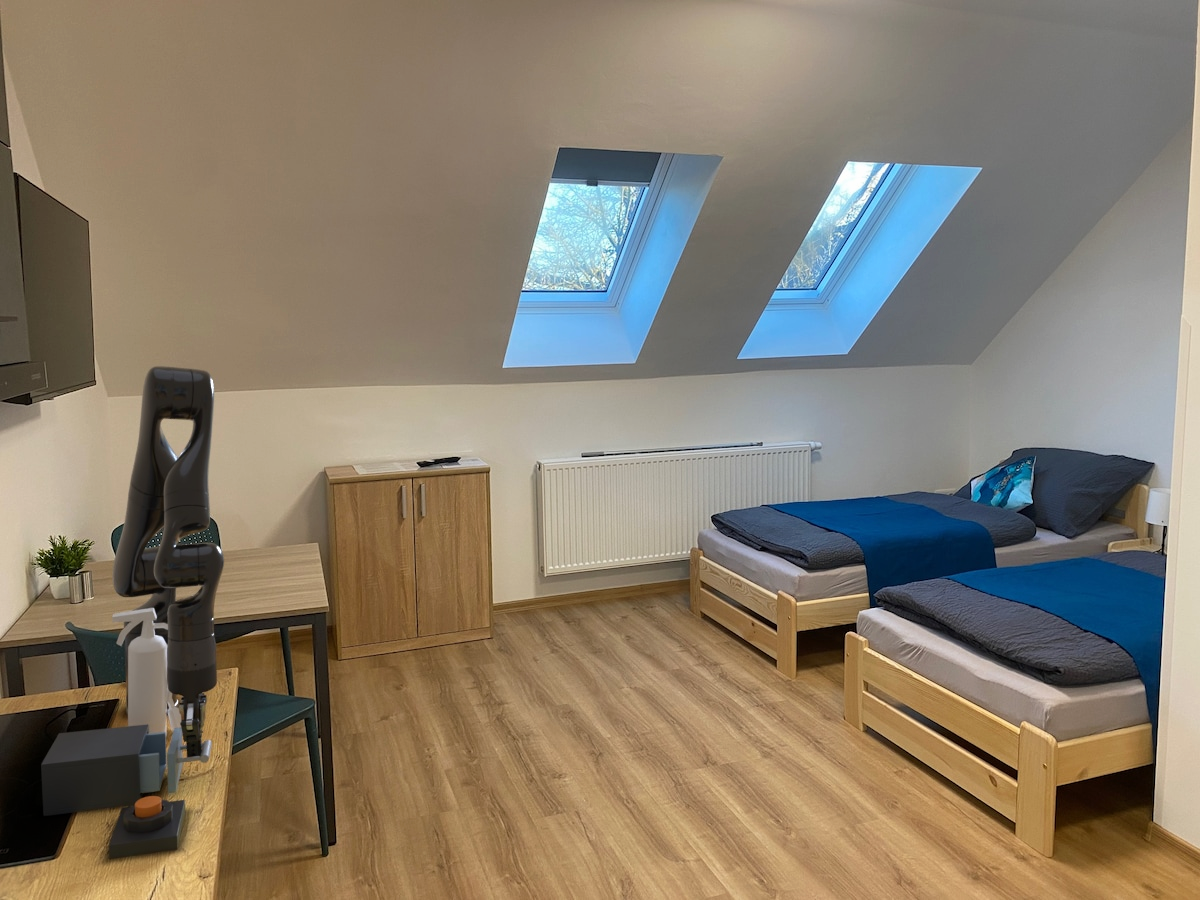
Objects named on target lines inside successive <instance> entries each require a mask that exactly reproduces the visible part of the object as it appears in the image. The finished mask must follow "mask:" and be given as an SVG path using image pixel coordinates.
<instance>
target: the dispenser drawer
mask: <svg viewBox="0 0 1200 900" xmlns="http://www.w3.org/2000/svg"><path fill="white" fill-rule="evenodd" d="M170 738H171V739H170V742H169V746H168V748H167V735H166V732H158V733H148V734H147V735H146V738H145V741H144V744H143V747H142V749H141V752H140V755H139V768H140V793H143V794H145V793H153V792H160V791H161V787H162V783H163V780H164V778H165V773H166V771H167V773H166V774H167V794H176V793H177V790H178V786H179V782H180V778H181V774H182V770H183V766H184V763H190V762H198V761H199V762H200V763H202V764H205V763H208V762H209V760H210V755H211V752H212V751H211V750H212V745H213V742H212V741H211V739H206V740H204V741H202V751H201V756H195V757H187V756H186V757H184V750H187V744H183V734H182V729H181V727H180V728H174V731H172V735H171V737H170Z"/></svg>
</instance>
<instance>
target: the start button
mask: <svg viewBox="0 0 1200 900" xmlns="http://www.w3.org/2000/svg"><path fill="white" fill-rule="evenodd" d="M161 800H162V798H161V797H160V796H157V795H149V796H145V797H142V798H141V799H139V800H138V801H137V802H136V803H135V816H136V817H141V818H144V817H151V816H154V815H156V814H159V813H160V812H161V811H162V804H161Z"/></svg>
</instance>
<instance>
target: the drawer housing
mask: <svg viewBox="0 0 1200 900" xmlns="http://www.w3.org/2000/svg"><path fill="white" fill-rule="evenodd" d="M148 733H149V724H147V725H137V726H128V725H127V726H118V727H108V728H99V729H89V730H79V731H70V732H69V731H68V732H59V733H58V734H57V736H56V738H55V740H54V742H53V743H52V745H51V747H49V750H48V752H47V754H46V755H45V757H44V758H43V760H42V761H41V764H40V768H41V770H40V771H41V791H42V792H41V793H42V812H43V813H42V814H43V817H49V816H57V815H64V814H72V813H80V812H88V811H96V810H104V809H112V808H119V807H121V808H122V807H130V806H133V805H134V804H135V803H136V802H137V801H138V800H139V799H141V798H143V795H144V793H140V768H139V755H140V752H141V749H142V747H143V744H144V741H145V738H146V735H147V734H148Z"/></svg>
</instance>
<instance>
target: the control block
mask: <svg viewBox="0 0 1200 900" xmlns="http://www.w3.org/2000/svg"><path fill="white" fill-rule="evenodd" d="M161 804H162V811H161V812H160V813H159V814H156V815H154V816H151V817H144V818H141V817H136V816H135V804H134V805H130V806H123V807H121V810H120V813H119V815H118V818H117V821H116V824H115V827H114V830H113V832H112V835H111V838H110V841H109V843H108V859H109V860H114V859H121V858H128V857H137V856H141V855H142V856H143V855H149V854H156V853H163V852H170V851H177V850H178V849H179V844H180V841H181V840H180V839H181V836H182V835H181V834H182V831H183V825H184V821H185V816H186V799H180V800H172V801H171V800H170V801H169V800H168V799H161Z"/></svg>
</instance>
